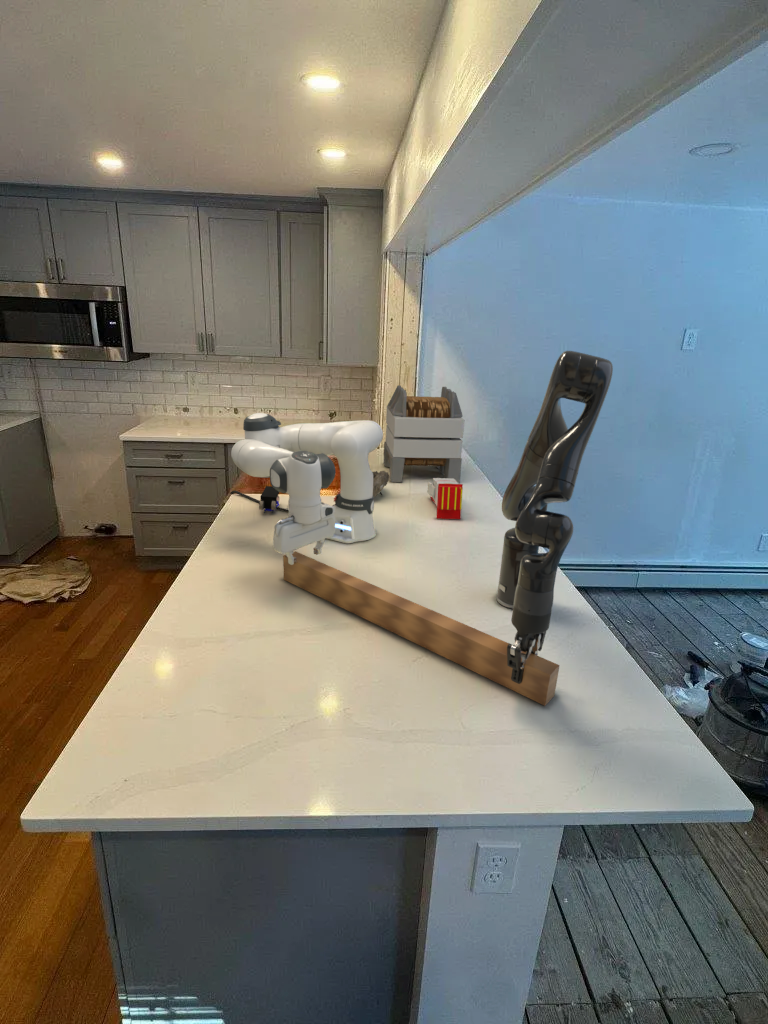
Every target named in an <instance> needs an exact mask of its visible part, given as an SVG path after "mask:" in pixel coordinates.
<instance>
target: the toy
mask: <svg viewBox="0 0 768 1024" xmlns="http://www.w3.org/2000/svg"><path fill="white" fill-rule="evenodd" d="M463 485H464V484H463V483H460V482H459V483H458V482H457V481H456V480H455V479H454V478H444V477H432V482H431V481H428V482H427V493H428V494H429V498H430V500H431V501H432V502H433V504H435V506H436V519H437V520H461V518H462V516H461V515H462V507H463V490H464V487H463Z"/></svg>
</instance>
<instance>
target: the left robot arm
mask: <svg viewBox="0 0 768 1024" xmlns="http://www.w3.org/2000/svg"><path fill="white" fill-rule="evenodd" d="M242 425H243V431H244V439H239V440H238V441H237V442H235V444H234V445H232V448H231V451H230V457H231V460H232V462H233V464H234V465H235V466H236V467H237V468H238V469H239V470H240V471H241V472H243V473H244V474H246V475H248V476H251V477H254V478H261V479H262V478H264V479H268V478H269V482H270V486H272V487H273V488H275V489H276V490H277V491H279V493H280V494H287V495H288V509H287V508H283V507H280V506H278V507H276V510H278V511H282V512H285V513H288V516H287V517H285V518H281V519H279V520H278V521H277V522H276V523H275V525H274V530H273V538H272V540H273V541H272V549H273V550H274V551H275V552H276V553H279V554H281V555H286V556H287V557H288V563H289V564H291V565H293V564H295V563H296V558H295V557H293V555H292V554H293V552H295V551H296V550H299V549H301V548H303V547H306V546H309V545H312V544H314V543H316V544H315V546H314V547H313V549H312V550H313V554H314V555H316V556H318V555H320V554H321V555H322V548H323V546H324V544H325V543H326V540H330V541H336V542H339V543H343V544H352V543H357V542H365V541H368V540H372V539H373V538H375V537H376V535H377V532H376V528H375V523H374V513H373V512H374V509H375V497H374V496H373V472H374V471H372V470H371V466H370V462H369V454H370V453H371V452H374V451H375V450H376V449H377V448H378V447H379V446H380V444H381V443H382V441H383V438H384V432H383V431H384V430H383V428H382V427H381V425H380V424H379V423H377V422H376V421H374V420H367V419H365V420H363V419H361V420H347V421H346V420H345V421H335V422H303V423H302V422H301V423H291V424H287V425H284V426H281V425H282V423H281V421H280V420H277V419H276V418H275V417H274V416H273V415H271V414H269V413H266V412H265V413H264V412H254V413H252V414H250V415H248V416H246V417H245V418H244V419H243V424H242ZM329 456H334V457H336V459H337V463H338V468H339V474H340V475H339V476H340V488H339V489H340V490H339V491H338V492H337V494H336V495H335V496H334V497H333V502H334V504H333V505H331V504H328V503H325V502H322V498H321V491H322V490H323V489H328V488H329V487H330V486H331V484H332V483H333V481H334V479H335V477H336V466H335V463H334V462H333V460H332V459H331V457H329ZM229 494H230V495H233V494H236V495H238V496H241V497H244V498H247V499H249V500H250V501H254V502H255V503H258V504H259V503H260V500H259V499H256V498H254V497H252V496H250V495H247V494H245V493H242V492H240V491H238V490H232V491H230V493H229Z"/></svg>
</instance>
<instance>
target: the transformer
mask: <svg viewBox="0 0 768 1024" xmlns="http://www.w3.org/2000/svg"><path fill="white" fill-rule="evenodd" d="M440 393H441V394H440V396H415V395H414V396H413V395H412V396H411V395H407V394H408V393H407V390H406V389H404V388H403V387H402V385H399V384H398V385H397V386H396V388H395V390H394V392H393V394H392V395H391V398H390V400H389V402H388V404H387V405H386V413H385V414H386V415H385V423H386V428H385V438H384V442H383V466H384V467H388V468H389V474H388V475H389V481H390V482H391V483H402V482H403V475H404V469H405V466H406V467H407V466H411V467H412V466H413V467H415V466H416V467H417V466H418V467H436V468H437V470H438V469H439V473H440V474H441V475H443V478H454V479H455V480H456V481H457V482H458V483H459V484H460V483H461V472H462V461H463V460H462V453H463V442H464V441H463V440H462V439H463V438H464V431H465V430H464V429H465V419H464V418H463V411H462V408H461V405H460V402H459V398H458V395H457V392H455V391H453V390H452V389H451V388H447V386H442V387H441V392H440Z"/></svg>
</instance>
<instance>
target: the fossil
mask: <svg viewBox="0 0 768 1024" xmlns="http://www.w3.org/2000/svg"><path fill="white" fill-rule="evenodd" d="M372 472H373V496H374V498H376V496H377V495H378V494H380V495H381V496H383V493H382V491H383V489H384V488H385V487H387V485H388V482H389V481H390V478H389V475H390V474H389V472H387V471H385V470H380V471H379V472H378V471H377V470H376V471H372Z"/></svg>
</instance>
